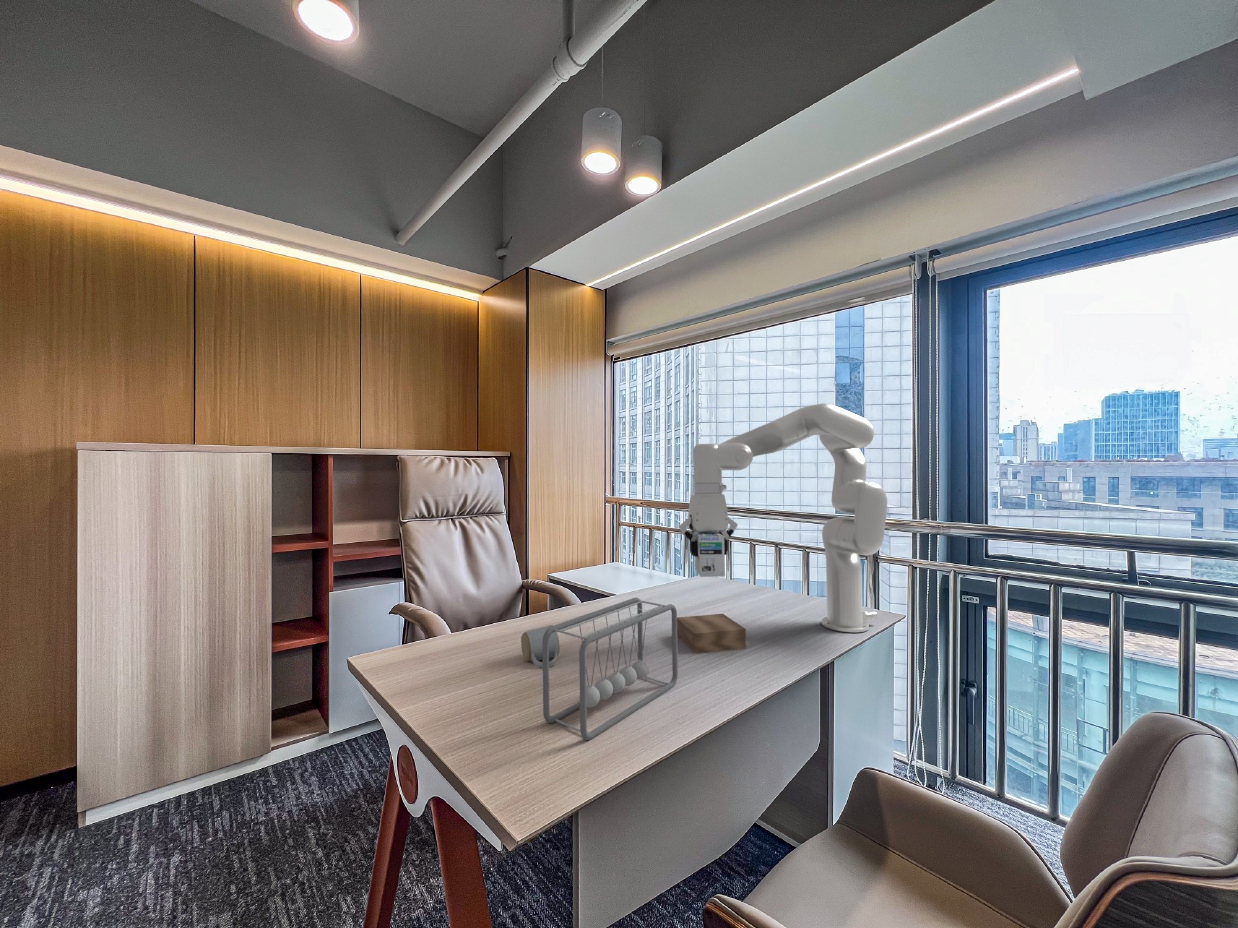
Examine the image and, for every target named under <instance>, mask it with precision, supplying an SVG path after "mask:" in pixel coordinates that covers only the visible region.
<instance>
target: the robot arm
mask: <svg viewBox="0 0 1238 928" xmlns="http://www.w3.org/2000/svg"><path fill="white" fill-rule="evenodd" d="M818 435H819V440H820V442H821V444H822V446H823V447H824V448H826V449H827V450H828V452H829V454H830V455H831V456H832V459H833V462H834V471H833V474H834V475H833V482H832V491H831V505H832V507H833V509H834V510H835V511H838V512H839V513H840V512H841V513H843V514H849V515H850V514H851V515H854V518H850V517H841V516H838V517H833V518H831V519H828V520H827V521H826V522H825V523H824V524H823V526H822V531H821V536H822V542H823V547H824V554H825V564H826V566H825V569H826V570H825V573H826V575H825V576H826V616H824V617H823V618H821V620H820V621H821V625H822V626H823V627H824V628H827V629H829V630H832V631H836V632H843V633H864V632H867V631H868V630H869V629H870V625H869V623H868V622H867V621H868V620H869V619H870V620H872V619H877V618H878V613H877V612H876V611H867V610H863V609H864V608H863V566H862V561H861V558H860V555H861V556H871V555H874V554H877V552H879V550H880V549H881V548H882V545H883V543H884V536H885V528H886V520H887V511H888V497H887V494H886V491H885V490H884V488H883V487H882V486H881V485H880V484H878V483H877V482H873V481H866V480H867V479H866V478H867V460H866V458H865V456H864V453H863V452H862V450H861V449H863V448H866V447H868V446H869V445H870V444H871V443H872V441H873V439H874V437H875V430H874V428H873V425H872V423H871V422H870V421H869V420H867V418H864V417H862V416H860V415H859V414H855V413H853V412H851V411H848V410H846V409H844V408H842V407H840V406H838V405H837V406H836V405H834V404H830V403H817V404H813V405H807V406H803V407H800V408H798V409H796V410H794V411H791V412H789V413H787V414H785V415H783V416H781V417H779V418H776V419H774V420H772V421H770V422H768V423H764V424H763V425H760V426H757V427H756V428H753V429H751V430H748V431H747V432H743V433H741V434H738V435H736V436H734V437H732V438H730V439H727V440H726V441H723V442H721V443H719V444H717V443H699V444H696V445H694V447H693V452H692V454H693V455H692V456H693V457H692V458H693V459H692V460H693V461H692V462H693V464H692V465H693V494H690V498H689V503H688V504H689V506H688V513H687V519H686V520H684V521H683V522H682V523H681V524H679V525H678V528H679V530H680V531H681V532H682V534H683V535H684V536H685V537H686V539H687V540H688V541H689V553H690V554H691V556H693V557H694V558H695V557H697V556H698V542H697V541H696V539H697V537H698V535H699V533H700V532H718V533H720V534H721V535H723V536H724V553H725V556H727V555H728V554H727V553H728V551H729V545H728V543H729V540H730V537H731V536H732V535H733V534H734V532H735V530H736V529H737V528H738V523H737V522H735V521H734V520H733V519H731V518H730V517H729V516H728V513H729V512H728V507H727V506H728V504H727V501H726V497H725V494H723V492H724V490H727V484H723V479H722V478H723V477H722V476H723V471H742V470H744V469H746V468H748V467H749V466H750V465H751V464H752V463H753V458H754V457H759V456H763V455H769V454H774V453H777V452H780V451H783V450H785V449H787V448H790V447H791V446H793V445H795V444H797V443H800V442H802V441H803V440H806V439H808V438H810V437H813V436H818ZM687 528H688V529H687ZM689 530H690V532H689Z"/></svg>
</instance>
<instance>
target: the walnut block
mask: <svg viewBox="0 0 1238 928" xmlns="http://www.w3.org/2000/svg"><path fill="white" fill-rule="evenodd" d="M746 629H747V628H745V627H744V626H743V625H741V624H740V623H738V622H736V621H735V620H733V619H732V618H730V617H728V616H727V615H726V614H724V613H715V614H703V615H692V616H691V615H690V616H677V638H678V639H680V640H681V642H683V643H684V644H685V645H686V646H687V647H688V648H689V649H690V650H691V651H692V652H693V653H694V654H701V653H712V652H723V651H731V650H732V651H733V650H744V649H747V637H746V636H747V630H746Z"/></svg>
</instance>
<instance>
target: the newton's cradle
mask: <svg viewBox="0 0 1238 928" xmlns="http://www.w3.org/2000/svg"><path fill="white" fill-rule="evenodd" d="M643 604H648V605H652V606H656V607H653V608H651V609H648V610H646V609H643ZM633 606H637V607H636V608H635V607H634V609H635V610H636V611H637V614H633V613H631V609H633ZM627 608H628V610H629V613H628V612H624V611H623V610H625V609H627ZM666 612H671V646H672V647H671V650H672V652H671V655H672V657H671V658H672V660H671V661H672V664H671V665H672V676H671V680H670V681H669V682H665V681H662V680H659V679H656V678H652V677H649V676H648V675H649V671H650V668H649V665H648V663H647V662H646V661H645V660H644V646H645V645H644V643H645V637H646V628H647V621H648V620H649V619H651V618H654V617H656V616H658V615H662V614H663V613H666ZM615 613H617V617H614V616H612V615H611V614H615ZM619 613H622V614H629V615H630V616H629V617H628V618H626V619H624V618H620V615H619ZM632 615H633V616H632ZM603 617H605V622H603V621H599V620H597V619H600V618H603ZM607 617H610V618H613V619H618V622H615V623H608V618H607ZM677 617H678V612H677V608H676V606H675V605H673V604H671V603H670V604H661V603H656V602H650V601H645V600H642V599H640V598H639V597H632V598H629V599H627V600H623V601H621V602H618V603H615V604H612V605H610V606H607V607H603V608H601V609H598V610H595V611H593V612H592V611H591V612H589V613H586V614H583V615H580V616H578V617H577V616H576V617H575V618H571V619H569V620H565V621H563V622H560V623H557V624H554V625H553V626H551V627H549V628H548V629H547V630H546V632H545V633H544V636H543V641H542V647H543V659H542V663H543V668H542V705H543V706H542V711H543V712H542V713H543V718H544V721H545V722H547V723H549V724H553V723H559V724H561V725H564V726H565V727H568V728H569V729H572V730H574V731H577V732H579V733H580V735H581V737H582V739H584V740H586V741H591V740H592V739H594V738H596V737H597V736H599V735H600V734H602V733H604V732H605V731H607V730H608V729H610V728H612V727H613V726H614V725H616V724H618V723H619V722H621V721H623V720H624V719H626V718H627V717H628V716H630V715H632V714H634V713H635V712H637V711H638V710H639V709H641V708H642V707H645V706H646V705H647V704H648V703H650V702H652V701H653V700H655V699H657V698H659V697H660V696H662V695H663V694H665V693H667V692H668V691H669V690H671V689H673V688H674V686H675V685H676V683H677V681H678V677H679V676H678V675H679V674H678V673H679V670H678V668H679V666H678V662H679V661H678V636H677ZM644 621H645V626H644V632H643V622H644ZM589 622H592V623H593V624H592V625H593V627H590V626H587V625H584V624H587V623H589ZM595 622H599V623H603V624H606V626H604V627H602V628H599V629H598V628H596V626H595ZM636 625H637V642H636V637H635V630H636ZM576 627H579V631H580V635H578V634H575V633H571V632H567V631H568V630H570V629H574V628H576ZM581 627H585V628H589V629H592V630H594V631H591V632H589V633H587V634H584V635H582V634H583V633H582V628H581ZM629 627H632V633H633V634H632V641H631V642H632V643H631V649H630V656H629V662H628V665H627V660H626V653H625V647H624V640H623V638H624V631H625V630H626V629H627V628H629ZM553 632H557V633H560V634H564V635H567V636H571V637H575V638H579V639H580V640H581V644H580V646H579V651H578V652H579V654H578V656H579V659H578V661H579V663H578V664H579V665H578V669H579V701H577V702H576V703H574V704H572V705H569V706H568V707H567V708H564V709H563V710H561V711H559V712H557V713H555V714H553V715H551V714H550V667H549V662H550V658H549V637H550V635H551V634H552V633H553ZM618 632H620V636H621V639H620V640H621V642H620V649H619V655H618V661H617V671H615V664H614V659H613V658H614V657H613V650H612V645H611V644H612V643H611V641H612V640H611V639H612V635H613V634H616V633H618ZM606 637H608V640H609V643H608V650H607V652H608V653H607V657H606V665H605V670H604V671H605V672H604V677H603V674H602V669H601V661H600V654H599V647H598V642H599V640H601V639H604V638H606ZM594 642H596V643H595V644H596V647H595V655H594V660H593V669H592V676H591V682H590V681H589V679H588V678H589V676H588V669H587V668H588V667H587V658H586V657H587V656H586V655H587V647H588V646H589V645H590V644H591V643H594ZM633 645H635V650H636V651H635V652H636V655H637V660H635V661H634V662H633V663H632V665H631V659H632V652H633ZM622 649H623V650H622ZM621 651H623V657H624V660H625V661H624V662H625V666H624V667H622V668H621V669H620V670H619V665H620V658H621V653H622V652H621ZM610 652H611V653H610ZM609 654H611V661H612V667H613V673H611V674H609V675H608V677H607V679H606V675H607V669H608V662H609V661H608V660H609ZM597 657H598V658H597ZM596 659H598V664H599V670H600V671H599V672H600V678H601V679H598V680H597V681H596V682H595V684H594V685H593V679H594V673H595V665H596V664H595V663H596ZM630 665H631V666H630ZM637 679H638V680H643V679H647V680H650V681H653V682H657V683H660V684H663V686H661V687H660V688H659V689H657V690H655V691H653V692H652V693H650V694H648V695H647V696H646V697H644V698H642V699H640V700H639V701H638V702H637V701H636V703H634V704H632V705H631V706H630V707H628V708H626V709H625V710H623V711H621V712H620V713H618V714H616V715H615V716H613V717H612V718H610V719H608V720H607V721H605V722H604V723H602V724H601V725H599V726H597V727H596V728H593V729H592V730H591V731H589V732H588V725H587V723H588V722H587V716H588V715H587V712H588V711H587V708H590V709H591V708H593V707H596V706H597V705H598V704H599V702H600V700H602V701H606V700H608V699H610V697H611V696H612V695H613V693H616V694H617V693H621V692H622V691H623V690H624V688H625V687H630V686H631V687H632V686H633V685H634V684H635V683H636V682H637ZM589 682H590V683H589ZM577 710H579V721H580V722H579V728H578V727H576V726H573V725H572V724H569V723H567V722H564V721H562V720H561V719H563V718H565V717H567V716H568V715H571V714H573V712H576V711H577Z"/></svg>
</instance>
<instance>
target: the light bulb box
mask: <svg viewBox="0 0 1238 928" xmlns="http://www.w3.org/2000/svg"><path fill="white" fill-rule="evenodd" d="M696 541H697V542H698V556H697V557H695V556H694V560H695V561H694V565H695V566H694V569H695V570H696V573H697V574H698V575H699V577H702V578H704V577H706V578H707V577H711V578H712V577H713V578H714V577H715V578H716V577H722V578H723V577H726V563H725V562H726V561H725V557H726V555H725V553H724V536H723V535H721V534H720V533H718V532H700V533H699V535H698V537H697V539H696Z"/></svg>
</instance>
